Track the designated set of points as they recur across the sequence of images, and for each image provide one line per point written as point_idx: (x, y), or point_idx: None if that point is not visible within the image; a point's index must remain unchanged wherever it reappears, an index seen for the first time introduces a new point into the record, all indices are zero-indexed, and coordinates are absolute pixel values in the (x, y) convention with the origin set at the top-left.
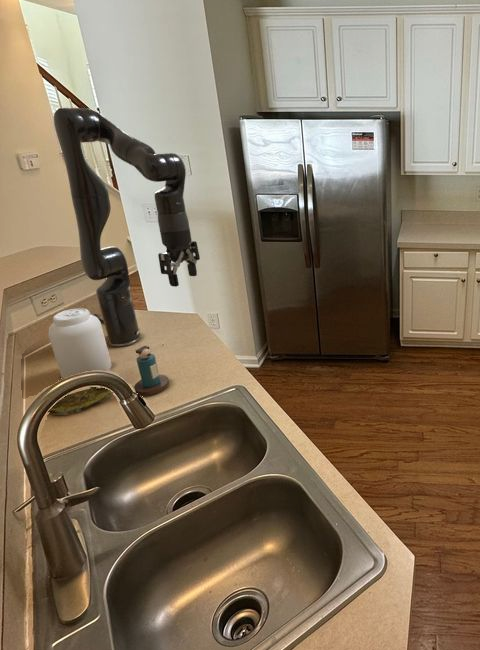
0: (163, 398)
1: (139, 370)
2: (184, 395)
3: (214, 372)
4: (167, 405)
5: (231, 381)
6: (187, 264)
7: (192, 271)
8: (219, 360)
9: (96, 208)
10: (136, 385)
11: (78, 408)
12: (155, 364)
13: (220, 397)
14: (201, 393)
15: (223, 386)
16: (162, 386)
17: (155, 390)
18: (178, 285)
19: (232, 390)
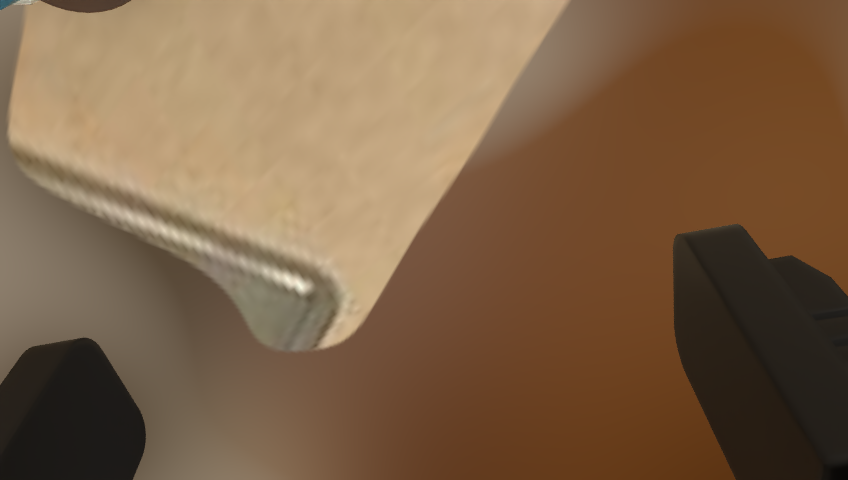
0: (65, 62)
1: None
2: (146, 136)
3: (364, 120)
4: (50, 125)
5: (342, 243)
6: (820, 474)
7: (715, 390)
8: (475, 54)
9: None
10: None
11: None
12: (28, 3)
13: (230, 279)
14: (203, 193)
15: (295, 239)
16: (88, 12)
17: (46, 2)
18: (142, 433)
19: (292, 288)
